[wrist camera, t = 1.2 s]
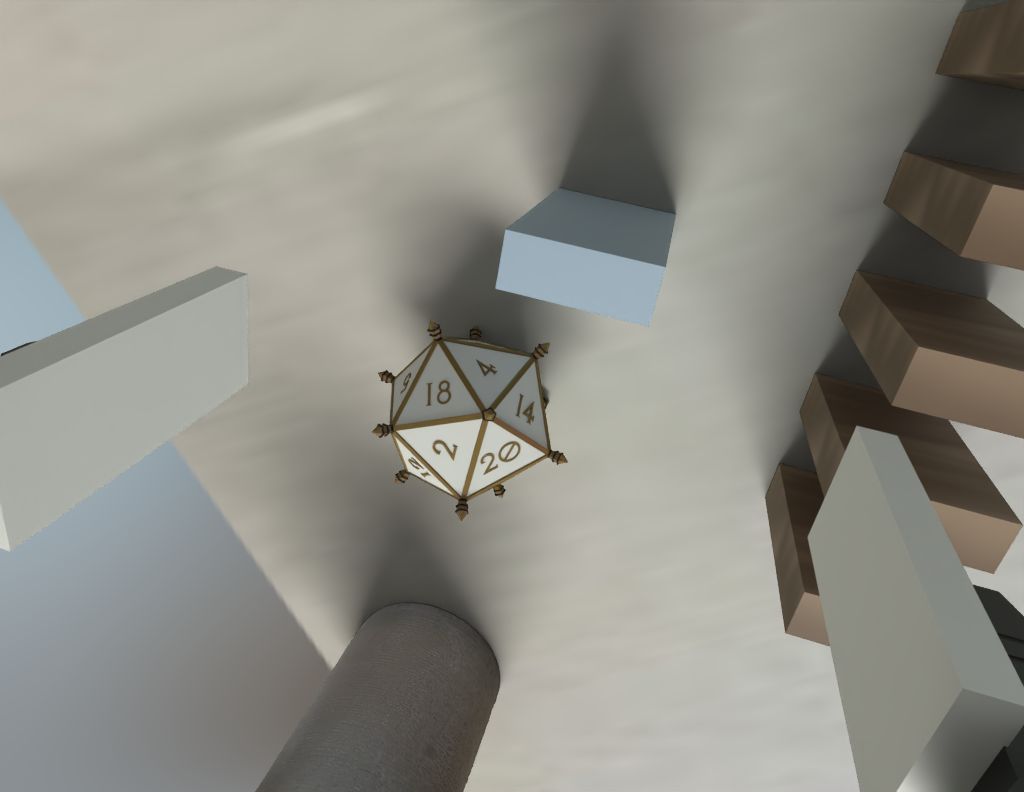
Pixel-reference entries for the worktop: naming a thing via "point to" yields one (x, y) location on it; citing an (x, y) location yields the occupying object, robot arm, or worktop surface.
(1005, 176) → the domino
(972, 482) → the domino
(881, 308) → the domino
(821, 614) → the domino
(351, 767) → the pillar candle
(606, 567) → the worktop surface
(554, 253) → the domino
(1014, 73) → the domino
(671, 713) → the worktop surface
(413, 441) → the game die
